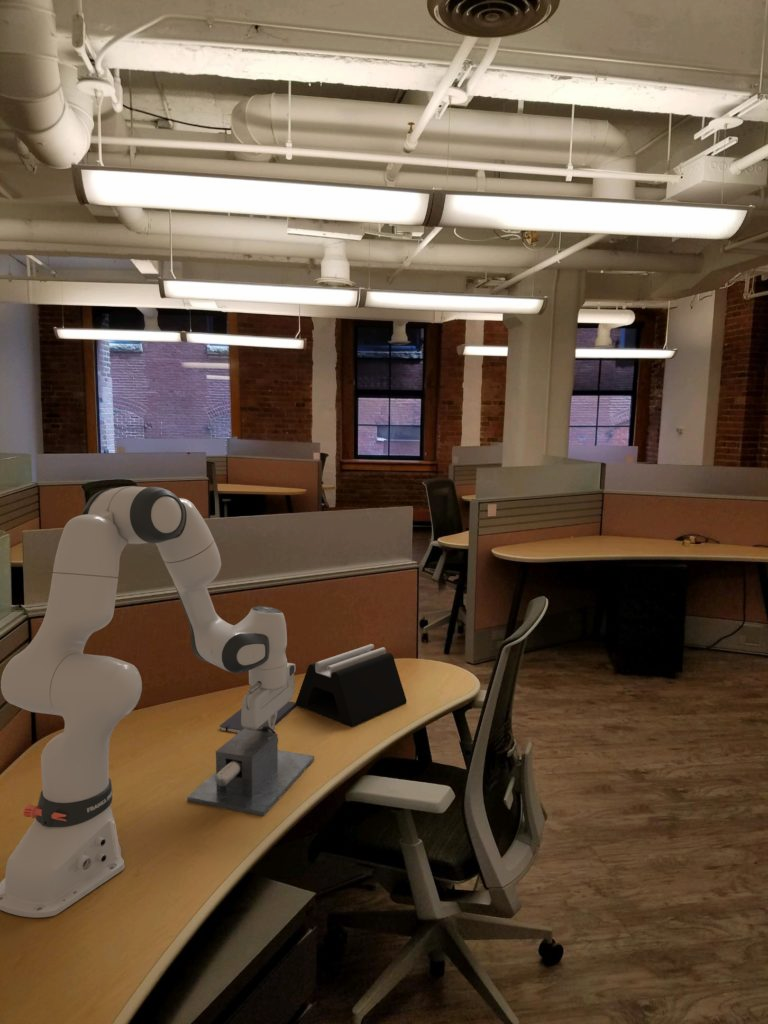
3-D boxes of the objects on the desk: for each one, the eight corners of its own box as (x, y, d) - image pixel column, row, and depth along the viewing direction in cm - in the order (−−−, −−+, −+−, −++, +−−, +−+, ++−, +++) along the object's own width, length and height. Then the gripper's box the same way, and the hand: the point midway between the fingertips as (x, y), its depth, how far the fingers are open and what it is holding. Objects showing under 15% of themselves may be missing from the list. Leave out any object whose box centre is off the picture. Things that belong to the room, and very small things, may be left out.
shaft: (234, 795, 145) (234, 767, 144) (208, 790, 147) (208, 763, 146) (278, 753, 164) (277, 728, 163) (254, 749, 166) (254, 724, 165)
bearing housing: (263, 816, 145) (263, 769, 144) (187, 801, 150) (186, 756, 149) (314, 759, 169) (314, 719, 168) (247, 748, 175) (246, 709, 174)
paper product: (262, 738, 182) (296, 707, 202) (262, 733, 182) (296, 702, 202) (218, 732, 185) (256, 702, 206) (218, 726, 185) (256, 696, 205)
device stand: (295, 706, 202) (295, 655, 201) (350, 684, 219) (350, 637, 217) (352, 728, 188) (352, 674, 186) (406, 704, 205) (407, 654, 203)
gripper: (259, 692, 153) (260, 753, 155) (298, 662, 173) (299, 716, 174) (233, 689, 155) (234, 749, 157) (275, 659, 175) (276, 713, 176)
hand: (269, 731), depth 166 cm, fingers closed
